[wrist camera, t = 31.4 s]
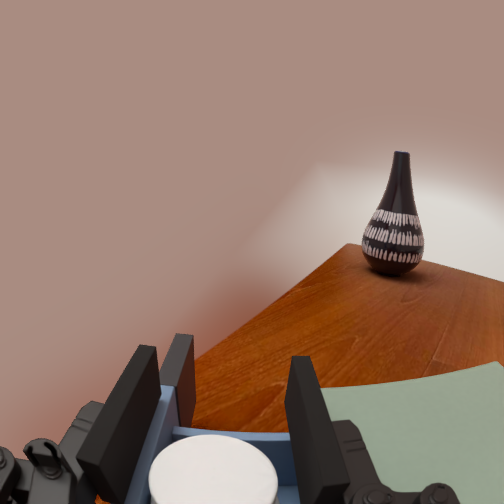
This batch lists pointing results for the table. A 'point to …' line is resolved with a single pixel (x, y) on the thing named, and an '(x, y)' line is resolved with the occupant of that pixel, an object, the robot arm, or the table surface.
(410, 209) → the vase
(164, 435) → the blue drawer
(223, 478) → the pill bottle
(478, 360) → the table surface
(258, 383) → the table surface
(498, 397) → the green drawer housing
